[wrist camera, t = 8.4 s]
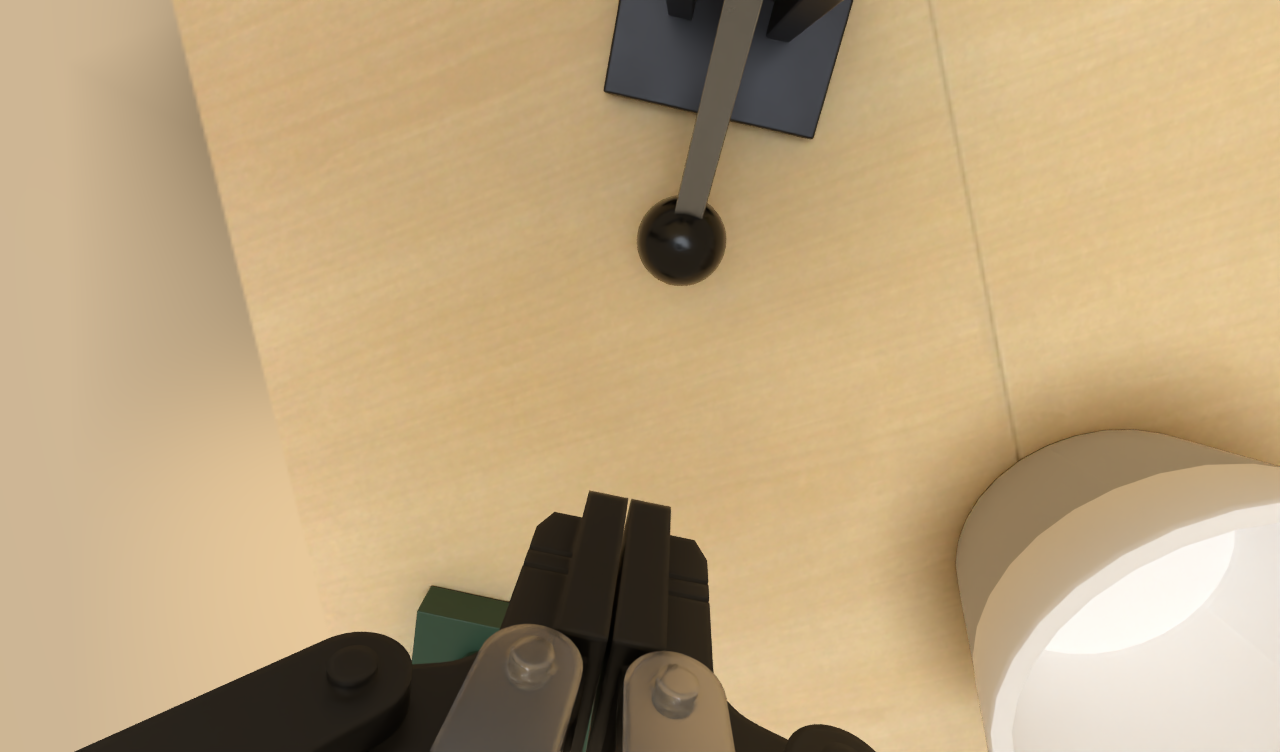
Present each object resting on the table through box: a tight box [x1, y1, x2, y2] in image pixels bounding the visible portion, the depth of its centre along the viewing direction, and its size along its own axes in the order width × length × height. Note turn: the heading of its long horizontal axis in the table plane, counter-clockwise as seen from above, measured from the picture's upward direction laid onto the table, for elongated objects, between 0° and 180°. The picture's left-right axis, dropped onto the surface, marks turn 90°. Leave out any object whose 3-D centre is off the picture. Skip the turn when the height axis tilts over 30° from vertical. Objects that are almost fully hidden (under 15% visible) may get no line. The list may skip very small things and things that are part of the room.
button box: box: [412, 586, 594, 752], centre depth 39 cm, size 11×9×4 cm
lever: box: [637, 0, 763, 286], centre depth 23 cm, size 15×4×4 cm
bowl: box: [956, 429, 1280, 752], centre depth 30 cm, size 19×19×11 cm
